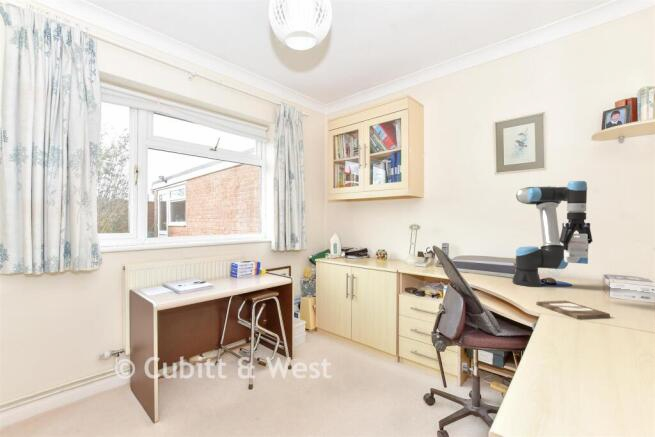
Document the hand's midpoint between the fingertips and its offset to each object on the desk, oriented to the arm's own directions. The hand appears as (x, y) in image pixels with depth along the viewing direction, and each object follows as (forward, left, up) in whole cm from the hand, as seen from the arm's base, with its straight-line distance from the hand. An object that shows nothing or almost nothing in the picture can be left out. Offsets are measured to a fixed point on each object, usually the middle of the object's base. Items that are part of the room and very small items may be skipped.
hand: (575, 256), depth 151 cm
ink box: (0, 0, -3) cm, 3 cm away
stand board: (+14, -18, -22) cm, 32 cm away
